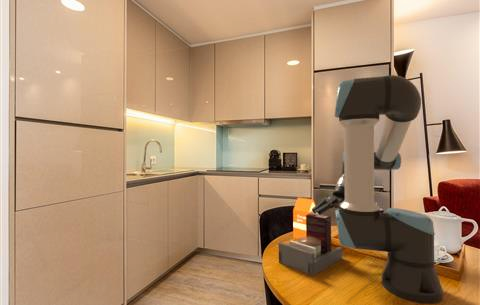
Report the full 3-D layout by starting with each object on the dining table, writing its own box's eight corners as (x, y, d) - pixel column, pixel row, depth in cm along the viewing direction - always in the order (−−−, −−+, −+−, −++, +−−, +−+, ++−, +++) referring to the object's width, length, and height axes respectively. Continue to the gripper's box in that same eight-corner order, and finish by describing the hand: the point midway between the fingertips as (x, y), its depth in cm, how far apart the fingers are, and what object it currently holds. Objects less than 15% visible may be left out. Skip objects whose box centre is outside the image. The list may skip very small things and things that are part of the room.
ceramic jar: (324, 260, 91) (324, 239, 92) (315, 268, 85) (315, 245, 85) (304, 254, 97) (304, 235, 97) (294, 261, 91) (294, 240, 91)
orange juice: (309, 244, 111) (308, 200, 112) (293, 239, 118) (292, 198, 118) (318, 240, 117) (317, 198, 117) (302, 236, 123) (302, 196, 124)
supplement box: (332, 256, 95) (331, 216, 95) (326, 260, 91) (326, 218, 92) (311, 251, 101) (311, 212, 101) (305, 254, 97) (305, 214, 97)
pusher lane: (342, 260, 93) (342, 240, 94) (312, 279, 80) (311, 254, 80) (310, 250, 104) (310, 231, 104) (278, 264, 90) (278, 243, 90)
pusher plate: (316, 268, 85) (315, 247, 85) (314, 269, 84) (314, 248, 84) (291, 258, 92) (291, 240, 92) (289, 259, 92) (289, 241, 92)
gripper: (375, 198, 103) (361, 243, 93) (321, 192, 122) (304, 228, 112) (370, 187, 100) (355, 232, 89) (315, 182, 118) (298, 219, 108)
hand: (327, 230), depth 100 cm, fingers open, 13 cm apart
